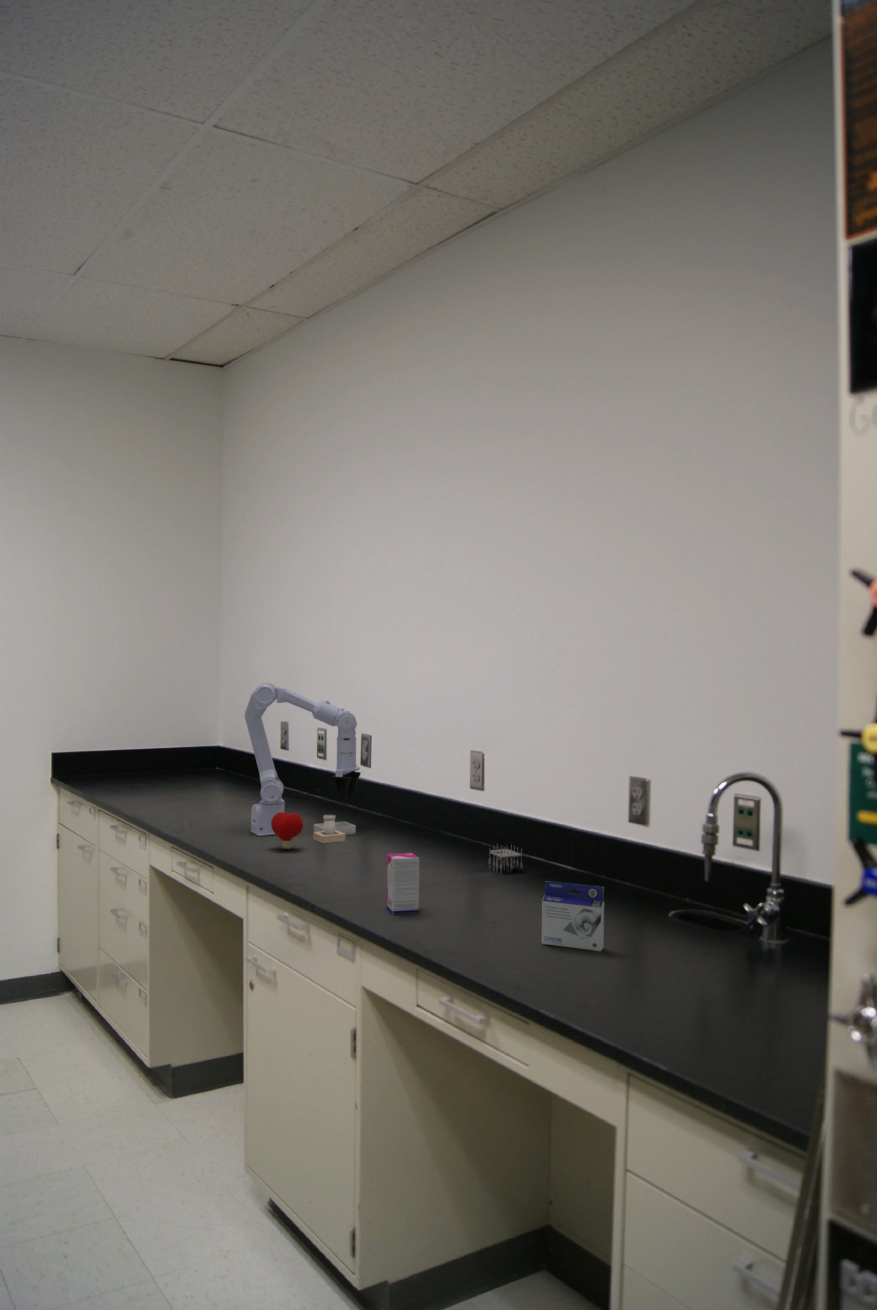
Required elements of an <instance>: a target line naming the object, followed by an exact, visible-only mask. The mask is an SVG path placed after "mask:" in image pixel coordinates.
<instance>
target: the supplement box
mask: <svg viewBox="0 0 877 1310" xmlns="http://www.w3.org/2000/svg"><path fill="white" fill-rule="evenodd" d="M386 863H387V866H386V867H387V869H386V870H387V871H386V873H387V874H386V876H387V878H386V908H387V910H388V911H389V912H390V913H391V914H392V915H398V914H409V913H410V914H411V913H419V911H420V910H419V904H420V902H419V901H420V900H419V899H420V857H418V856H417V855H416V854H414V853H413V852H404V853H387V862H386Z"/></svg>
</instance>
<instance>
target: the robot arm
mask: <svg viewBox="0 0 877 1310" xmlns="http://www.w3.org/2000/svg"><path fill="white" fill-rule="evenodd" d="M275 701H276V704H281V703H288V704H290V705H293V706H295V707H298V708H300V709H302V710H305V711H308V712H310V713H311V714H312V717H313V719H315V720H318V721H320V722H322V723H325V724H326V725H328V726H331V727H337V738H336V767H335V775H332V776H331V780H332V782H333V784H334V787H335V790H336V794H337V800H338V801H347V797H354V796H355V792H356V788H357V783H358V781H359V778H360V776H361V772H360V769H361V767H359V766H357V737H356V735H357V734H356V733H357V731H356V728H357V725H358V723H357V719H356V718H357V717H356V716H355V715H354V714H353V713H352V712H350V711H348V710H346V711H345V708H343V707H341V708H339V707H337V706H336V705H332V704H331V701H329V700H325V701H324V700H320V701H317V702H315V701H313V700H311V699H310V698H307V697H304V696H303V695H301V694H299V693H296V692H295V691H292V690H291V689H289V688H285V687H281V686H279V685H274V684H272V683H269V682H266V683H262V684H261V685H259V686H257V687H256V688H255V690H254V691H253V692H252V694H250V697H249V701H248V704H247V706H246V708H245V711H244V719H245V723H246V727H247V732H248V735H249V738H250V743H251V746H252V749H253V753H254V754H253V755H254V758H255V760H256V765H257V768H258V773H259V780H260V781H259V782H260V785H261V788H260V797H261V799H260V800H259V803H255V804H253V805H252V806H251V808H250V809H251V810H250V811H251V812H250V815H251V816H250V822H251V823H250V824H251V825H250V832H251V833H252V834H253V835H256V836H257V837H261V836H262V837H264V836H271V835H273V836H274V835H276V834H275V833H274V832H273V830H272V827H271V821H272V818H273V817H274V816H275V815H276V814H277V813H280V812H284V813H285V810H286V809H285V808H286V807H285V804H286V803H285V802H286V801H285V800H284V799H283V798H282V796H283V793H284V788H285V787H284V784H283V781H281V780H280V778H279V776H278V773H277V772H278V771H276V767H275V764H274V760H273V756H272V753H271V749H270V745H269V741H268V738H267V734H266V733H267V732H266V729H265V725H264V722H263V718H262V717H263V715H264V714H265V712H266V710H267V708H268V707H270V706H271V705H272V704H273V703H274V702H275Z"/></svg>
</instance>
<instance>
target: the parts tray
mask: <svg viewBox="0 0 877 1310" xmlns="http://www.w3.org/2000/svg"><path fill="white" fill-rule="evenodd" d="M335 830H337V831H340V832H342V833H344V834H345V836H351V835H352V836H353V835H356V831H357V830H356V825H355V824H353V823H350V822H347V821H335ZM320 831H324V822H323V823H313V832H320Z"/></svg>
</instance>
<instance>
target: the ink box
mask: <svg viewBox="0 0 877 1310" xmlns="http://www.w3.org/2000/svg"><path fill="white" fill-rule="evenodd" d="M544 889H545V890H544V895H543V898H542V899H541V945H548V946H557V947H563V948H564V947H565V948H574V949H579V950H586V951H587V950H588V951H594V952H602V950H603V949H604V936H605V935H604V933H605V931H604V929H605V928H604V925H605V922H604V921H605V901H604V900H605V899H604V898H605V897H604V896H605V887H604V886H599V885H589V884H580V883H579V884H578V883H570V882H568V883H567V882H558V881H549V880H545V881H544ZM573 890H575V891H578V892H581V893H575V892H574V893H573V892H568V891H573Z"/></svg>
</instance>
